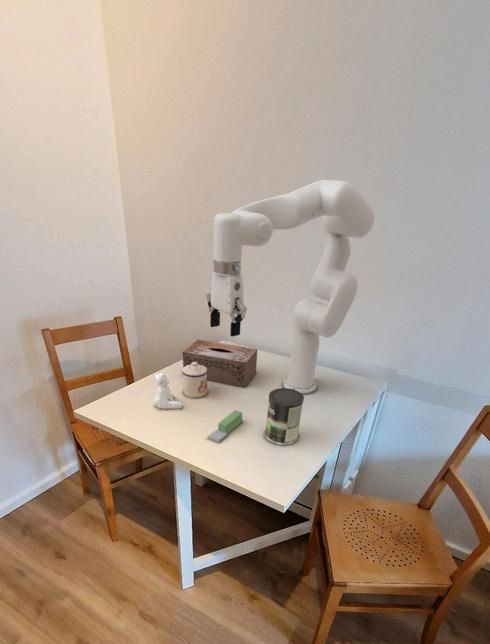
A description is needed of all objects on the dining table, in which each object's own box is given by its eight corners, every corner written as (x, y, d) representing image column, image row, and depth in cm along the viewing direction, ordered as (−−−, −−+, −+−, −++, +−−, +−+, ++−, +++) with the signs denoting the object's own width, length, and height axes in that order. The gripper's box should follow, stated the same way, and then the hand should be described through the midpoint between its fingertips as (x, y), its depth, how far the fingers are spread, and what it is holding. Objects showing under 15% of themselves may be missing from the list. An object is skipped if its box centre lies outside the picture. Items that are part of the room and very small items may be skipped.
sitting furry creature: (183, 408, 133) (181, 376, 126) (159, 414, 130) (156, 381, 122) (173, 396, 139) (170, 365, 132) (150, 402, 136) (146, 370, 129)
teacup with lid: (202, 400, 138) (201, 369, 131) (179, 395, 140) (177, 365, 133) (213, 385, 147) (213, 356, 140) (191, 382, 149) (190, 353, 142)
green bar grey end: (218, 442, 117) (218, 432, 115) (208, 438, 119) (208, 428, 117) (243, 422, 127) (243, 412, 125) (233, 418, 129) (234, 409, 126)
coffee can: (267, 445, 117) (272, 404, 108) (262, 427, 125) (266, 388, 116) (301, 444, 117) (307, 404, 109) (294, 426, 126) (299, 387, 117)
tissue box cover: (183, 375, 153) (182, 351, 147) (198, 362, 164) (197, 339, 158) (244, 387, 147) (246, 362, 141) (255, 372, 158) (257, 348, 152)
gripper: (258, 272, 101) (253, 337, 111) (218, 260, 111) (217, 321, 122) (236, 275, 97) (233, 341, 107) (197, 262, 108) (197, 324, 118)
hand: (224, 330), depth 115 cm, fingers open, 9 cm apart
